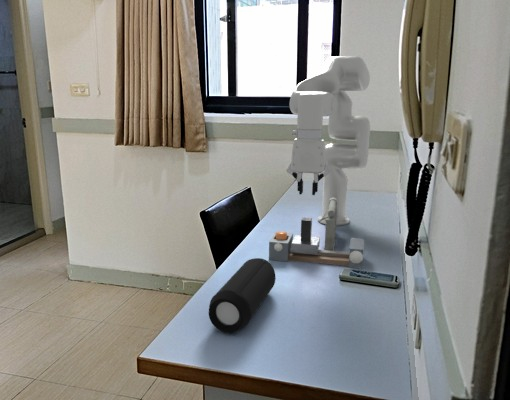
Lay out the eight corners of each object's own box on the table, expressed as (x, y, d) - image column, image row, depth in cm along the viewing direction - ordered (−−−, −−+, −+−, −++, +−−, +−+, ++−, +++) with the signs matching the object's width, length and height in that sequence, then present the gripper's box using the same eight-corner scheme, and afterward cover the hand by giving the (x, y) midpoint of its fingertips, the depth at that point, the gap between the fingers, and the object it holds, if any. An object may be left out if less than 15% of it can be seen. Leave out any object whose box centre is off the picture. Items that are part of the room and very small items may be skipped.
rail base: (274, 249, 156) (274, 242, 155) (362, 257, 150) (363, 250, 149) (269, 258, 149) (269, 251, 148) (362, 267, 142) (362, 259, 141)
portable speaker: (243, 286, 128) (243, 253, 126) (278, 292, 125) (278, 257, 123) (205, 332, 105) (204, 292, 103) (246, 340, 102) (246, 299, 99)
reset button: (276, 242, 153) (276, 230, 152) (287, 243, 152) (287, 231, 151) (274, 246, 149) (274, 234, 148) (285, 247, 149) (286, 235, 148)
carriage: (295, 243, 154) (296, 214, 151) (319, 245, 152) (320, 216, 150) (291, 252, 146) (292, 221, 144) (316, 254, 145) (318, 223, 142)
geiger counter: (339, 211, 151) (340, 193, 175) (319, 210, 153) (323, 192, 176) (336, 251, 155) (338, 229, 179) (317, 250, 156) (322, 227, 180)
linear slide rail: (274, 248, 157) (275, 232, 156) (362, 256, 151) (363, 239, 149) (268, 259, 147) (268, 242, 146) (362, 268, 141) (363, 250, 139)
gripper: (280, 135, 138) (279, 195, 143) (336, 137, 135) (333, 198, 139) (284, 132, 145) (283, 189, 150) (337, 134, 142) (334, 192, 146)
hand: (307, 193), depth 145 cm, fingers open, 3 cm apart
